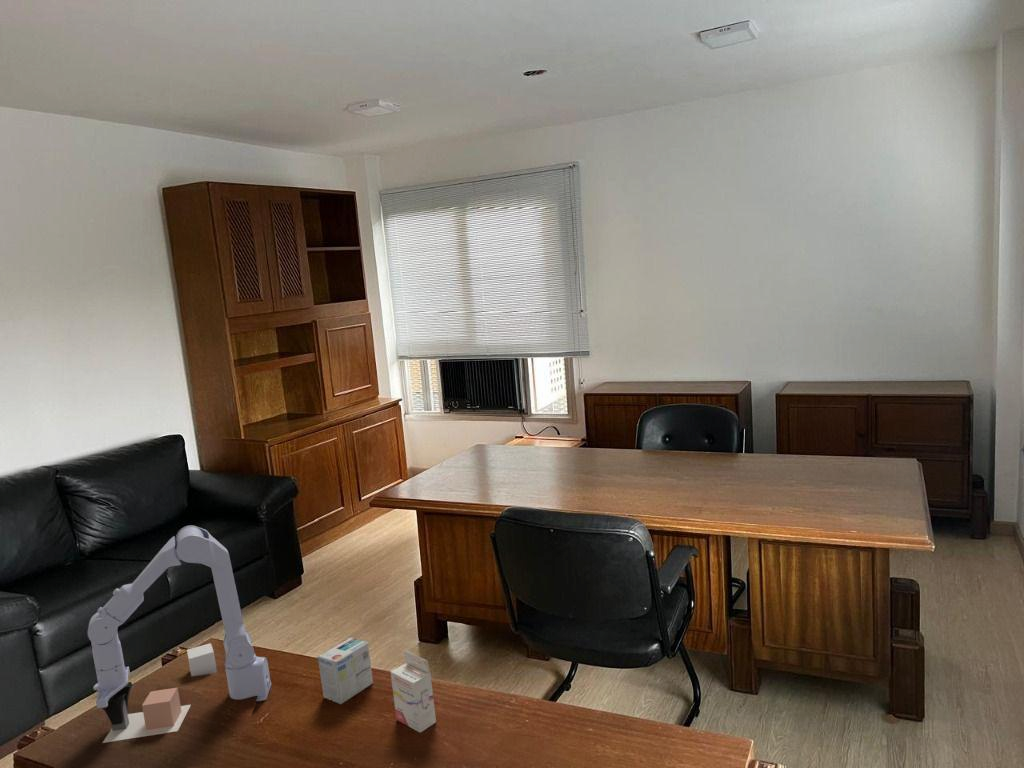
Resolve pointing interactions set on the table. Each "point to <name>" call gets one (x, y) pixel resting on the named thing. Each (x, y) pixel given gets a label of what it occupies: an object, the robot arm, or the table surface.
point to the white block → (201, 660)
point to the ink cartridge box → (413, 693)
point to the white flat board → (140, 726)
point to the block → (161, 708)
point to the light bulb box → (345, 670)
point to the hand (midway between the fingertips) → (119, 720)
